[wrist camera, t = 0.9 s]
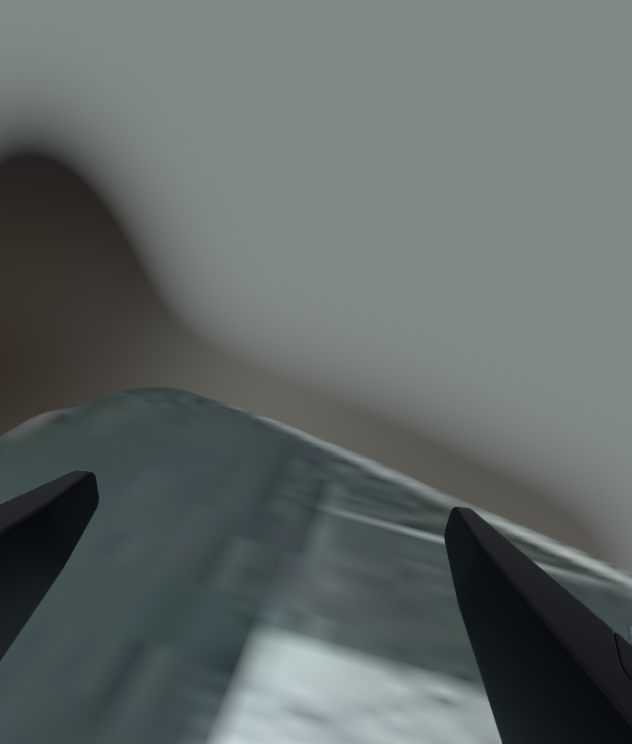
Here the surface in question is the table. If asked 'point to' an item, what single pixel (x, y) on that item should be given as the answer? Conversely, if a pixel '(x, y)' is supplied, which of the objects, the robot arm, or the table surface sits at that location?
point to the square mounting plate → (631, 631)
